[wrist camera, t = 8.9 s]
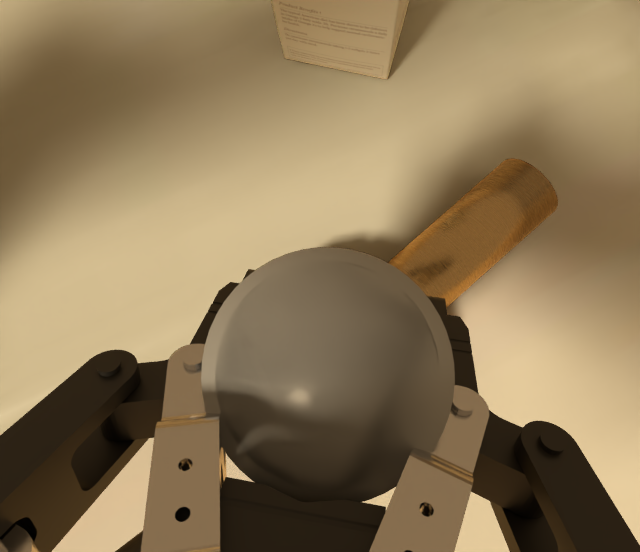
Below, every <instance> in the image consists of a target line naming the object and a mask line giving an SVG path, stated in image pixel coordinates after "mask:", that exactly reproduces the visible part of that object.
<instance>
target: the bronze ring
mask: <svg viewBox="0 0 640 552" xmlns="http://www.w3.org/2000/svg"><path fill="white" fill-rule="evenodd" d="M557 206H558V199H557V195H556V192H555V190H554V188H553V186H552V185H551V183H550V182H549V181H548V179H547V178H546V177H545V176H544V175H543V174H542V173H541V172H540V171H539V170H537V169H536V168H535V167H533V166H532V165H530V164H529V163H527V162H525V161H522V160H519V159H513V158H511V159H506V160H505V161H503V162H502V163H501V164H500V165H499V166H498V167H496V168H495V169H494V170H493V171H492V172H491V173H490V174H488V175H487V176H486V177H485V178H484V179H483V180H482V181H480V182H479V183H478V184H477V185H476V186H475V187H474V188H472V189H471V190H470V191H469V192H468V193H467V194H466V195H464V196H463V197H462V198H461V199H460V200H459V201H458V202H456V203H455V204H454V205H453V206H452V207H451V208H450V209H448V210H447V211H446V212H445V213H444V214H443V215H442V216H440V217H439V218H438V219H437V220H436V221H435V222H434V223H432V224H431V225H430V226H429V227H428V228H427V229H426V230H424V231H423V232H422V233H421V234H420V235H419V236H418V237H416V238H415V239H414V240H413V241H412V242H411V243H410V244H408V245H407V246H406V247H405V248H404V249H403V250H402V251H400V252H399V253H398V254H397V255H396V256H395V257H394V258H392V259H391V260H390V261H389V262H388V263H389V264H391V265H392V266H394V267H396V268H397V269H398V270H400V271H401V272H403V273H404V274H405V275H407V276H408V277H409V278H410V279H411V280H412V281H413V282H414V283H415V284H416V285H417V286H419V287H420V289H421V290H422V291H423V292H424V293H425V295H426V296H432V297H439V298H445V301H446V308H447V307H448V306H449V305H450V304H451V303H452V302H453V301H454V300H456V299H457V298H458V297H459V296H460V295H461V294H462V293H463V292H465V291H466V290H467V289H468V288H469V287H470V286H471V285H472V284H473V283H475V282H476V281H477V280H478V279H479V278H480V277H481V276H482V275H484V274H485V273H486V272H487V271H488V270H489V269H490V268H491V267H493V266H494V265H495V264H496V263H497V262H498V261H499V260H500V259H501V258H503V257H504V256H505V255H506V254H507V253H508V252H509V251H510V250H512V249H513V248H514V247H515V246H516V245H517V244H518V243H519V242H521V241H522V240H523V239H524V238H525V237H526V236H527V235H528V234H529V233H531V232H532V231H533V230H534V229H535V228H536V227H537V226H538V225H540V224H541V223H542V222H543V221H544V220H545V219H546V218H547V217H549V216H550V215H551V214H552V213H553V212H554V211H555V210H556V209H557Z"/></svg>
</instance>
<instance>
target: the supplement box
mask: <svg viewBox="0 0 640 552" xmlns="http://www.w3.org/2000/svg"><path fill="white" fill-rule="evenodd" d="M271 4H272V8H273V12H274V17H275V21H276V26H277V30H278V33H279V37H280V42H281V46H282V50H283V54H284V58H286V59H290V60H295V61H300V62H305V63H310V64H314V65H319V66H324V67H329V68H334V69H339V70H343V71H348V72H353V73H358V74H362V75H367V76H372V77H377V78H381V79H388V76H389V73H390V69H391V66H392V62H393V59H394V55H395V51H396V48H397V44H398V41H399V37H400V34H401V30H402V27H403V23H404V19H405V16H406V12H407V8H408V4H409V0H271Z"/></svg>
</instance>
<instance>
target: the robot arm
mask: <svg viewBox="0 0 640 552" xmlns="http://www.w3.org/2000/svg"><path fill="white" fill-rule="evenodd" d="M254 271H255V270H251V269H249V270H248V271H247V273H246V275H245V277H244V279H245V278H246V277H247V276H248V275H250V274H251V273H252V272H254ZM244 279H243V280H244ZM239 284H240V283H233V282H230V283H229V284H227V285H226V286H225V287H223V288H222V289H221V290H220V291H219V292H218V294H217V296H216V297H215V299H214V301H213V304H212V305H211V307H210V308H209V310H208V313H207V314H206V316H205V318H204V319H203V321H202V323H201V325H200V327H199V328H198V330H197V332H196V334H195V336H194V338H193V339H192V341H191V343H190V345H186V346H183V347H181V348H179V349H178V350H176V351H175V352H174V353H173V354H172V355H171V357H170V358H169V359H168V360H164V361H158V362H147V363H137V360H136V358H135V356H134V355H133V354H131V353H129V352H127V351H124V350H110V351H106V352H103V353H100V354H98V355H96V356H94V357H93V358H91V359H90V360H89V361H88V362H86V363H85V364H84V365H83V366H82V367H81V368H79V369H78V370H77V371H76V372H75V373H73V374H72V375H71V376H70V377H69V378H68V379H66V380H65V381H64V382H63V383H62V384H60V385H59V386H58V387H57V388H56V389H55V390H53V391H52V392H51V393H50V394H49V395H48V396H46V397H45V398H44V399H43V400H42V401H40V402H39V403H38V404H37V405H36V406H35V407H33V408H32V409H31V410H30V411H29V412H28V413H26V414H25V415H24V416H23V417H22V418H20V419H19V420H18V421H17V422H16V423H15V424H13V425H12V426H11V427H10V428H9V429H8V430H6V431H5V432H4V433H3V434H2V435H0V552H51V551H52V550H53V549H54V548H55V547H56V545H57V544H58V543H59V542H60V541H61V540H62V539H63V537H64V536H65V535H66V534H67V533H68V532H69V530H70V529H71V528H72V527H73V526H74V525H75V523H76V522H77V521H78V520H79V519H80V518H81V516H82V515H83V514H84V513H85V512H86V511H87V510H88V508H89V507H90V506H91V505H92V504H93V503H94V501H95V500H96V499H97V498H98V497H99V496H100V494H101V493H102V492H103V491H104V490H105V489H106V487H107V486H108V485H109V484H110V483H111V482H112V481H113V479H114V478H115V477H116V476H117V475H118V474H119V472H120V471H121V470H122V469H123V468H124V467H125V465H126V464H127V463H128V462H129V461H130V460H131V458H132V457H133V456H134V455H135V454H136V453H137V452H138V450H139V449H140V448H141V447H142V446H143V445H144V443H145V442H146V441H147V440H148V438H153V437H154V444H153V453H152V461H151V470H150V478H149V486H148V495H147V503H146V512H145V520H144V528H143V531H142V532H140V533H139V534H138V535H136V536H135V537H134V538H133V539H131V540H130V541H129V542H127V543H126V544H125V545H123V546H122V547H121V548H119V549H118V550H117V551H115V552H454V550H455V547H456V543H457V539H458V536H459V532H460V528H461V525H462V521H463V518H464V514H465V510H466V507H467V503H468V500H469V496H470V492H473V493H475V494H477V495H479V496H481V497H483V498H485V499H487V500H489V501H490V502H491V505H492V508H493V510H494V513H495V515H496V518H497V520H498V523H499V525H500V528H501V530H502V533H503V535H504V538H505V540H506V543H507V545H508V548H509V550H510V552H640V545H639V544H638V542H637V540H636V539H635V537H634V536H633V534H632V532H631V531H630V529H629V527H628V526H627V524H626V523H625V521H624V519H623V518H622V516H621V514H620V513H619V511H618V510H617V508H616V506H615V505H614V503H613V501H612V500H611V498H610V497H609V495H608V493H607V492H606V490H605V488H604V487H603V485H602V484H601V482H600V480H599V479H598V477H597V475H596V474H595V472H594V471H593V469H592V467H591V466H590V464H589V462H588V461H587V459H586V458H585V456H584V454H583V453H582V451H581V449H580V448H579V446H578V445H577V443H576V442H575V440H574V439H573V438H572V437H571V436H570V435H569V434H568V433H567V432H566V431H565V430H563V429H562V428H560V427H558V426H556V425H554V424H552V423H549V422H544V421H533V422H530V423H528V424H526V425H525V426H524V427H523V428H522V427H520V426H517V425H515V424H513V423H510V422H508V421H506V420H504V419H502V418H500V417H498V416H496V415H495V414H494V413H492V412H491V411H490V410H489V408H488V406H487V404H486V402H485V401H484V399H483V398H482V397H481V396H480V395H479V394H478V389H477V382H476V376H475V369H474V363H473V356H472V350H471V344H470V337H469V330H468V328H467V326H466V325H465V324H464V322H463V321H462V319H461V318H460V317H458V316H451V315H447V310H446V301H445V298H439V297H432V296H427V297H428V298H429V300H430V301H431V302H432V304H433V306H434V307H435V309H436V310H437V312H438V314H439V315H440V318H441V320H442V322H443V324H444V326H445V329H446V331H447V334H448V338H449V341H450V344H451V348H452V354H453V359H454V371H455V385H454V396H453V402H452V406H451V411H450V415H449V418H448V420H447V423H446V426H445V428H444V431H443V433H442V435H441V437H440V439H439V441H438V442H437V444H436V446H435V448H434V449H433V451H432V452H428V451H424V450H421V449H417V448H414V449H412V451H411V453H410V456H409V458H408V460H407V463H406V465H405V467H404V470H403V472H402V475H401V477H400V479H399V482H398V484H397V486H396V489H395V491H394V494H393V496H392V498H391V501H390V503H389V505H388V508H387V510H386V507H383V506H378V505H373V504H367V503H362V502H357V501H351V500H346V499H344V500H330V501H316V502H301V501H298V500H296V499H294V498H292V497H290V496H288V495H286V494H284V493H281V492H279V491H277V490H275V489H273V488H271V487H269V486H267V485H265V484H260V483H255V482H250V481H244V480H239V479H234V478H228V477H226V452H225V451H224V449H223V448H222V439H221V417H220V414H218V413H206V409H205V405H204V400H203V395H202V382H201V371H202V358H203V353H204V347H205V343H206V340H207V336H208V333H209V330H210V328H211V325H212V323H213V321H214V319H215V316H216V314H217V313H218V311H219V309H220V308H221V306H222V305H223V303H224V301H225V300H226V299H227V297H228V296H229V295H230V294H231V292H232V291H233V290H234V289H235V288H236V287H237V286H238V285H239ZM385 512H386V513H385Z"/></svg>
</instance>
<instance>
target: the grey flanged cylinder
mask: <svg viewBox="0 0 640 552" xmlns="http://www.w3.org/2000/svg"><path fill="white" fill-rule="evenodd" d="M201 382H202V395H203V400H204V405H205V409H206V413H218V414H220V417H221V439H222V448H223V449H224V451H225V452H226V454H227V455H228V457H229V458H230V459H231V460H232V461H233V462H234V463H235V465H236V466H237V467H238V468H239V469H240V470H241V471H242V472H243V473H244V474H246V475H247V476H248V477H249V478H250V479H251V480H252V481H254V482H255V483H260V484H265V485H267V486H269V487H271V488H273V489H275V490H277V491H279V492H281V493H284V494H286V495H288V496H290V497H292V498H294V499H296V500H298V501H301V502H316V501H330V500H344V499H346V500H351V501H357V502H363V501H366V500H369V499H372V498H374V497H377V496H379V495H381V494H384V493H386V492H387V491H389V490H391V489H392V488H394V487H396V486H397V484H398V482H399V479H400V477H401V475H402V472H403V470H404V467H405V465H406V463H407V460H408V458H409V456H410V453H411V451H412V449H414V448H417V449H421V450H424V451H428V452H432V451H433V449H434V448H435V446H436V444H437V442H438V441H439V439H440V437H441V435H442V433H443V431H444V428H445V426H446V423H447V420H448V418H449V415H450V411H451V406H452V402H453V396H454V385H455V371H454V359H453V354H452V348H451V344H450V341H449V338H448V334H447V331H446V329H445V326H444V324H443V322H442V320H441V318H440V315H439V314H438V312H437V310H436V309H435V307H434V306H433V304H432V302H431V301H430V300H429V298H428V297H427V296H426V295H425V293H424V292H423V291H422V290H421V289H420V287H419V286H417V285H416V284H415V283H414V282H413V281H412V280H411V279H410V278H409V277H408V276H407V275H405V274H404V273H403V272H401V271H400V270H398V269H397V268H396V267H394V266H392V265H391V264H389V263H387V262H385V261H383V260H382V259H379V258H377V257H374V256H372V255H369V254H367V253H363V252H359V251H355V250H351V249H345V248H336V247H318V248H310V249H303V250H299V251H295V252H292V253H288V254H285V255H283V256H281V257H278V258H276V259H273V260H271V261H270V262H268V263H266V264H264V265H263V266H261V267H259V268H258V269H256V270H255V271H254V272H252V273H251V274H250V275H248V276H247V277H246V278H245V279H244V280H243V281H242V282H241V283H240V284H239V285H238V286H237V287H236V288H235V289H234V290H233V291H232V292H231V294H230V295H229V296H228V297H227V299H226V300H225V301H224V303H223V305H222V306H221V308H220V309H219V311H218V313H217V314H216V316H215V319H214V321H213V323H212V325H211V328H210V330H209V333H208V336H207V340H206V343H205V347H204V353H203V358H202V371H201Z"/></svg>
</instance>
